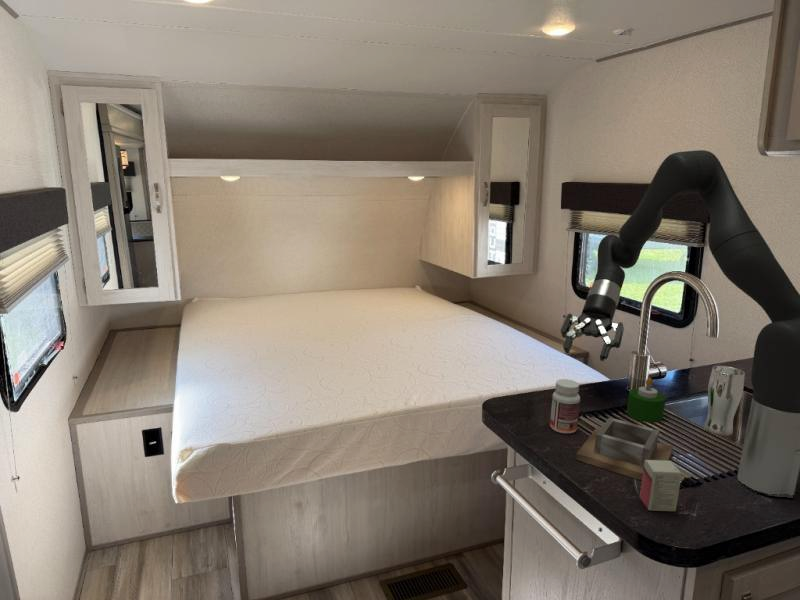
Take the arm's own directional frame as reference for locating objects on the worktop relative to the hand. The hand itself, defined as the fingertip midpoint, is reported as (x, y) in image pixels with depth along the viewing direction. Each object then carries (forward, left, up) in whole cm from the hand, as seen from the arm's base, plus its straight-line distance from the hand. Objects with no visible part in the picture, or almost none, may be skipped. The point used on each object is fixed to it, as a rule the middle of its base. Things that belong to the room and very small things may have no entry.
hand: (583, 355), depth 137 cm
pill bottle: (0, +11, -15) cm, 19 cm away
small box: (-24, +31, -15) cm, 42 cm away
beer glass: (-30, -11, -15) cm, 35 cm away
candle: (-14, -9, -15) cm, 23 cm away
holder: (-15, +16, -15) cm, 26 cm away
